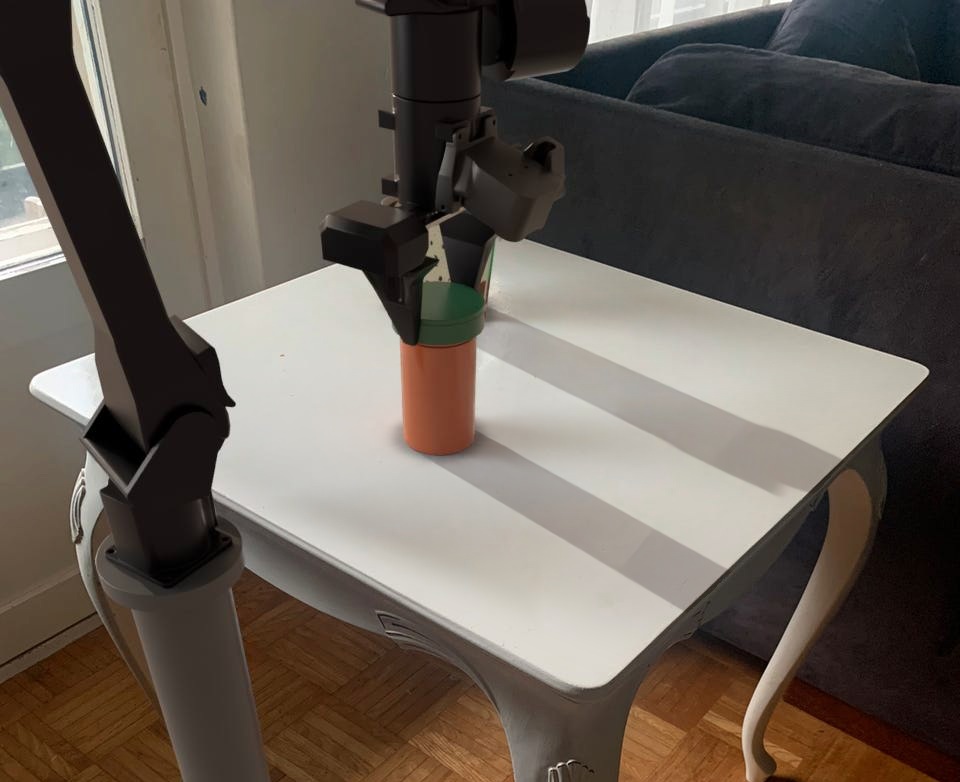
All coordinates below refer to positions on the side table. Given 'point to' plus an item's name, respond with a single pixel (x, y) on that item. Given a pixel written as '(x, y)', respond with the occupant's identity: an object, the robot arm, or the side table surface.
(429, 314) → the green cylinder
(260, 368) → the side table surface
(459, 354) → the jar
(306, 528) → the side table surface
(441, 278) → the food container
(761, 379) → the side table surface
